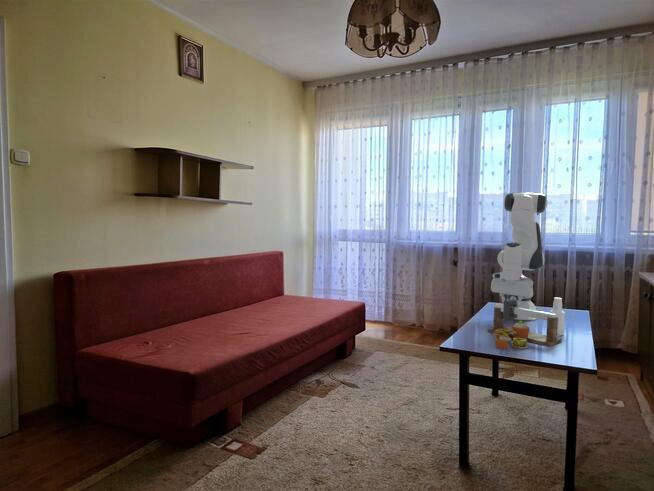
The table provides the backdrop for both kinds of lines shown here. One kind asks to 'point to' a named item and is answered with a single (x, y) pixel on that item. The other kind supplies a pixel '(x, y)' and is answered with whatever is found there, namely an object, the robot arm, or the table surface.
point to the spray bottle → (559, 314)
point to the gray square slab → (507, 309)
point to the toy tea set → (518, 336)
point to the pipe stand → (537, 338)
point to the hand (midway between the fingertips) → (510, 303)
